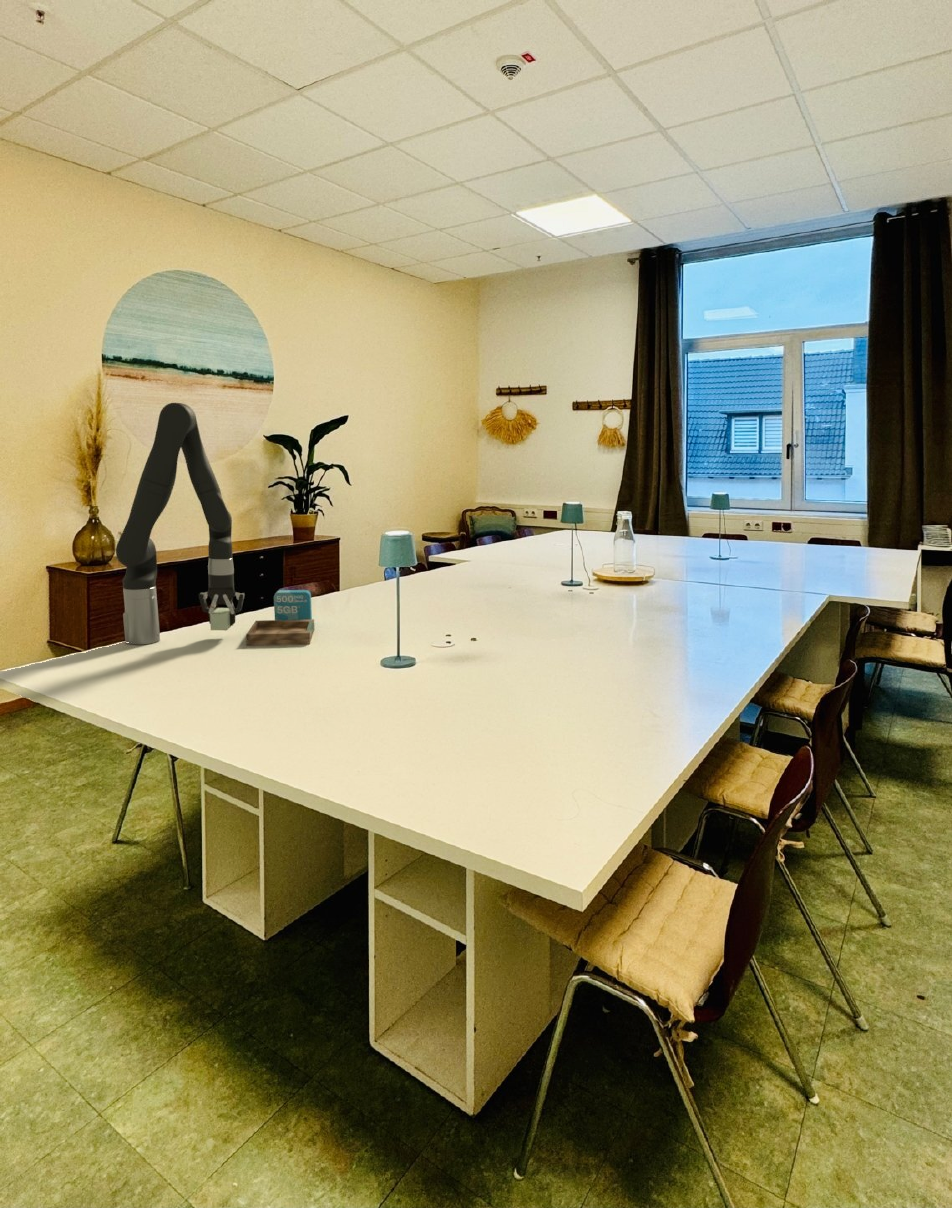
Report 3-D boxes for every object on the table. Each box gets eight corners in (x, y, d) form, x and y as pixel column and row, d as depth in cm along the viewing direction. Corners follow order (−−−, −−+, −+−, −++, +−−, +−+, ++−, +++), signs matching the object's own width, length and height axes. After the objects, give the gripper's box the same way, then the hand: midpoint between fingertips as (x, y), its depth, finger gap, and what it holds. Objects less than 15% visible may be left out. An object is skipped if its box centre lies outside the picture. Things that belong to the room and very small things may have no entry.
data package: (275, 627, 248) (273, 592, 246) (276, 624, 252) (275, 590, 250) (310, 626, 250) (309, 592, 247) (312, 623, 254) (310, 589, 252)
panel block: (210, 630, 225) (210, 614, 224) (218, 622, 235) (217, 607, 234) (227, 630, 226) (226, 614, 225) (233, 623, 235) (233, 608, 234)
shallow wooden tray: (246, 645, 223) (246, 634, 222) (256, 630, 242) (255, 620, 242) (309, 644, 226) (309, 633, 225) (314, 629, 245) (314, 619, 245)
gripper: (194, 573, 222) (196, 627, 225) (243, 574, 224) (244, 628, 228) (199, 570, 229) (201, 622, 233) (246, 570, 232) (247, 622, 235)
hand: (222, 624), depth 230 cm, fingers closed on panel block, 5 cm apart
